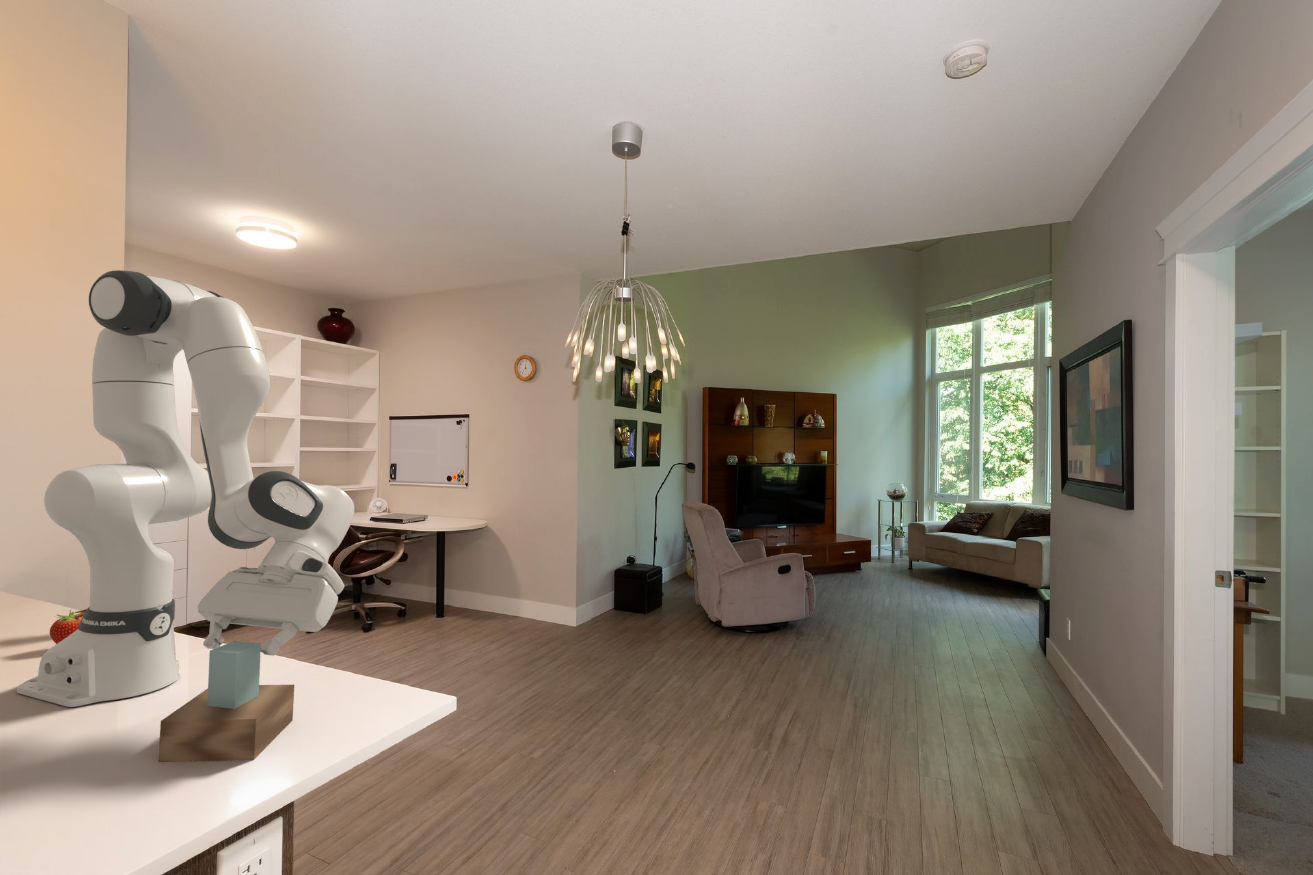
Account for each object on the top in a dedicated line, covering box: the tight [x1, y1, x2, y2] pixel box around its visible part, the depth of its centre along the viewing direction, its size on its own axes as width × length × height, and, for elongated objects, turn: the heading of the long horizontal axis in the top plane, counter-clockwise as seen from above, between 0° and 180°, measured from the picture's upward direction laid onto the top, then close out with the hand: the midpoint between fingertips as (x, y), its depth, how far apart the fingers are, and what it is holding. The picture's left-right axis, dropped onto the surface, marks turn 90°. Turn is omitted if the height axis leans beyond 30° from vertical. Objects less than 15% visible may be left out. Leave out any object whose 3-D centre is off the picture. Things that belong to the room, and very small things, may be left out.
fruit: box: [49, 609, 83, 645], centre depth 121 cm, size 5×5×8 cm
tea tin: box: [207, 640, 262, 709], centre depth 89 cm, size 4×4×8 cm
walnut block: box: [157, 684, 295, 763], centre depth 89 cm, size 12×12×6 cm
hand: (238, 650), depth 90 cm, fingers open, 8 cm apart
